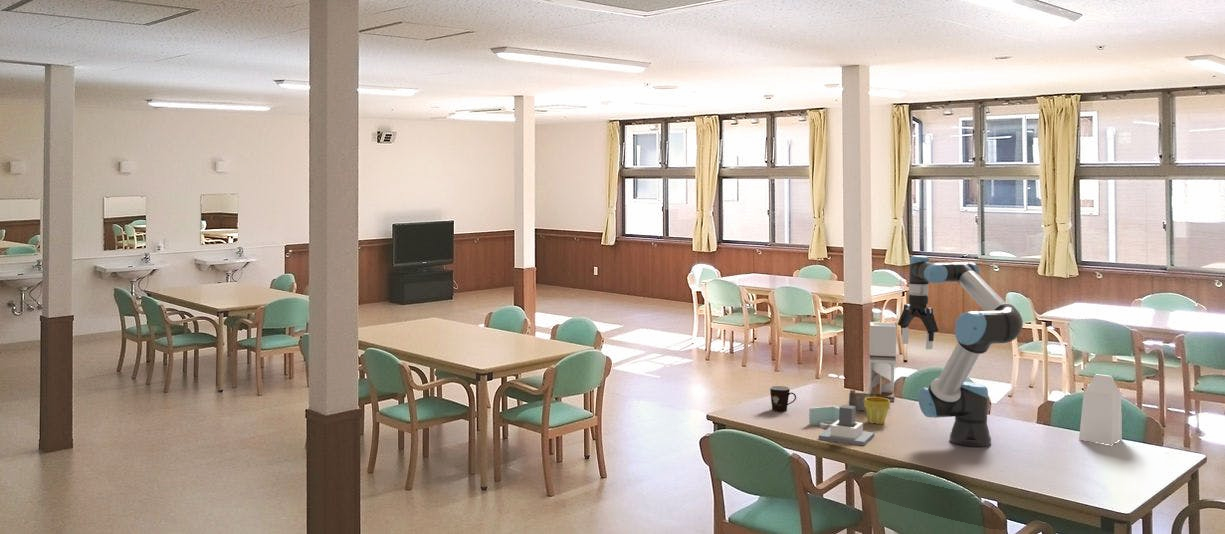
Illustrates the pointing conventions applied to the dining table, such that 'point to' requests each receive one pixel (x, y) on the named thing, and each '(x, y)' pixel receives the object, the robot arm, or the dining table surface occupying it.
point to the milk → (1101, 411)
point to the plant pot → (876, 409)
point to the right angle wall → (823, 416)
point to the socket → (847, 434)
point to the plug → (847, 415)
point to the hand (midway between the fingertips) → (916, 346)
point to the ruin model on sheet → (858, 399)
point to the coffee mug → (780, 398)
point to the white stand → (882, 359)
